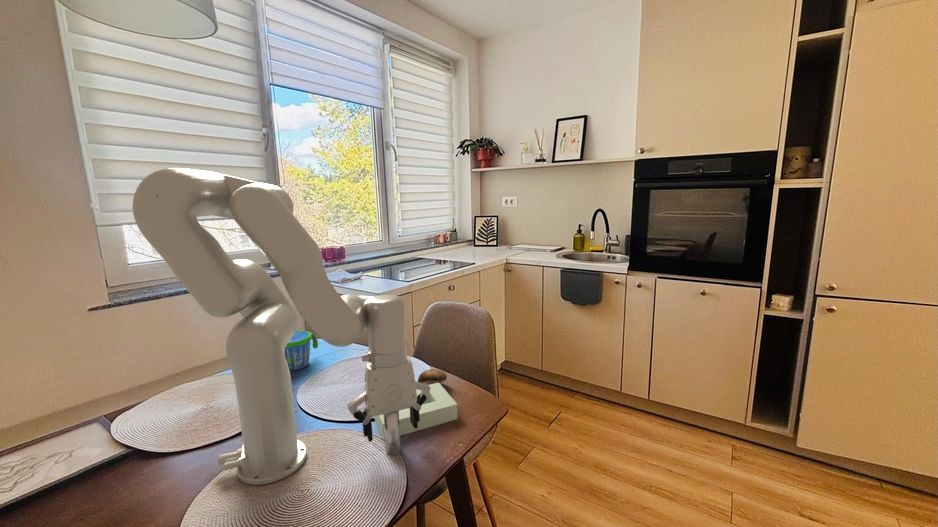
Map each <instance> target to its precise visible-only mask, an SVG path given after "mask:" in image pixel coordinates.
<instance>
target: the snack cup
mask: <svg viewBox="0 0 938 527" xmlns="http://www.w3.org/2000/svg"><path fill="white" fill-rule="evenodd" d="M311 340H312V348H313V349H318V347H319V342H318V337H317V335H316V333H312V332H310V331H309V330H301V329H300V330H299V329H297V331H296V333H295V334H294V336H293V337H292V339H291V340H290V341H289V342H288V344H287V345H286V347H285V358H286V361H287V364H288V367H289V371H298V370H300V369H303V368H305V367H307V366H309V363H310V355H311V354H310V353H311Z"/></svg>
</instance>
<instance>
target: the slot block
mask: <svg viewBox="0 0 938 527" xmlns="http://www.w3.org/2000/svg"><path fill="white" fill-rule="evenodd" d="M429 387H430V391H429V393H428V396H427V399H426V401H425V402H424V403H423V404H422V406H421V409H420V410H419V419H420V421H419V422H418V428H416V429H415V428H414V427H413V425H412V424H411V422H410V407H409V408H406V409H402V410H399V426H400V437H401V436H404V435H408V434H411V433H414V432H418V431H421V430H422V431H423V430H424V429H428V428H432V427H435V426H439V425H441V424H445V423H449V422H452V421H456V420H458V403H457V402H456V401H455V399H453V398H452V396H451V395H450V394H449V393H448V392H447V390H446V389H445V388H444V387H443V386H442V383H441V384H440V383H434V384H430V385H429ZM421 391H422V390H418V389H416V392H417V397H418V395H419V394H420V393H421ZM373 418H374V420H375V424H376V425H377V428H378V430H379V432H380V435H381V437H382V439H383V441H385V435H384V417H383V415H379V416H373Z"/></svg>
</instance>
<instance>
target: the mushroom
mask: <svg viewBox="0 0 938 527" xmlns="http://www.w3.org/2000/svg"><path fill="white" fill-rule="evenodd" d="M447 378H448V376H447V374H446V373H445V372H444V371H443V370H441V369H436V368H435V369H433V368H432V369H426V370H424V371H423V372H421V373H420V374H419V375H418V378H417V382H420V383H424V384H428V385H430V384H434V383H440V384H441V385H442V383H443V382H446V380H447Z"/></svg>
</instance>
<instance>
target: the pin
mask: <svg viewBox="0 0 938 527" xmlns="http://www.w3.org/2000/svg"><path fill="white" fill-rule="evenodd" d="M383 417H384V435H385V440H384V448H385V451H384V452H385V453H386V454H387V455H389V456H390V455H391V456H393V455H396V454H398V453H399V452H400V451H401V436H400V426H399V411H395V412H391V413H387V414H383Z"/></svg>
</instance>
